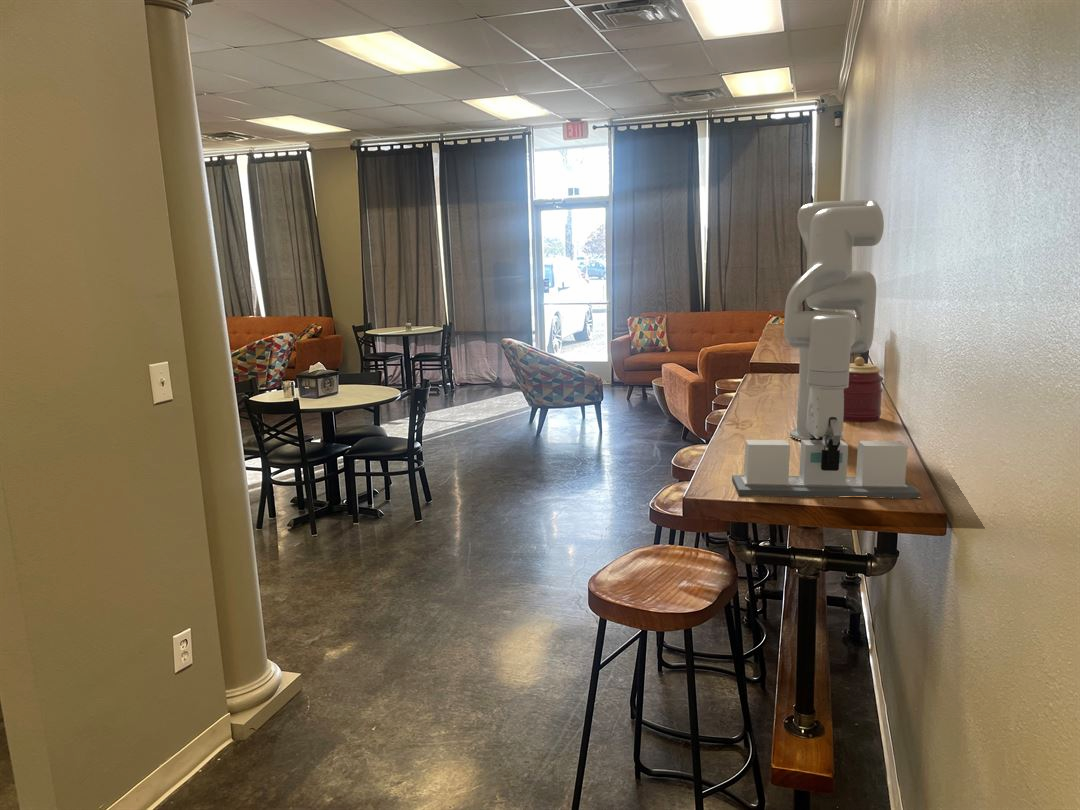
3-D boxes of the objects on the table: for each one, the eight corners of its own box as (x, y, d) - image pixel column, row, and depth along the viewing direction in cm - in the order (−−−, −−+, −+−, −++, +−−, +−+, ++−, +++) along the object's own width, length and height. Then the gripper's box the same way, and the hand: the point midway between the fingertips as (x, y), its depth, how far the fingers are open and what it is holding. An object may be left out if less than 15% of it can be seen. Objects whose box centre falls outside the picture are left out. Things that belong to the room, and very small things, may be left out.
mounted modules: (744, 477, 150) (745, 439, 148) (897, 479, 146) (900, 441, 144) (747, 483, 146) (748, 444, 144) (904, 485, 142) (907, 446, 140)
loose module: (799, 478, 148) (801, 440, 147) (840, 478, 147) (842, 440, 146) (804, 484, 144) (806, 445, 143) (846, 484, 143) (848, 445, 142)
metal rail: (741, 478, 150) (741, 476, 150) (899, 481, 146) (899, 479, 146) (744, 485, 146) (744, 484, 145) (908, 488, 142) (908, 486, 141)
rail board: (732, 480, 153) (732, 475, 153) (902, 483, 149) (902, 477, 149) (738, 495, 144) (738, 489, 143) (920, 498, 139) (921, 492, 139)
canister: (875, 414, 214) (880, 354, 211) (885, 423, 202) (889, 360, 198) (828, 412, 217) (832, 354, 214) (835, 422, 205) (838, 359, 202)
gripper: (798, 372, 151) (794, 452, 154) (819, 386, 134) (814, 475, 137) (836, 372, 150) (831, 452, 153) (861, 386, 133) (855, 476, 136)
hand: (823, 463), depth 145 cm, fingers open, 9 cm apart
